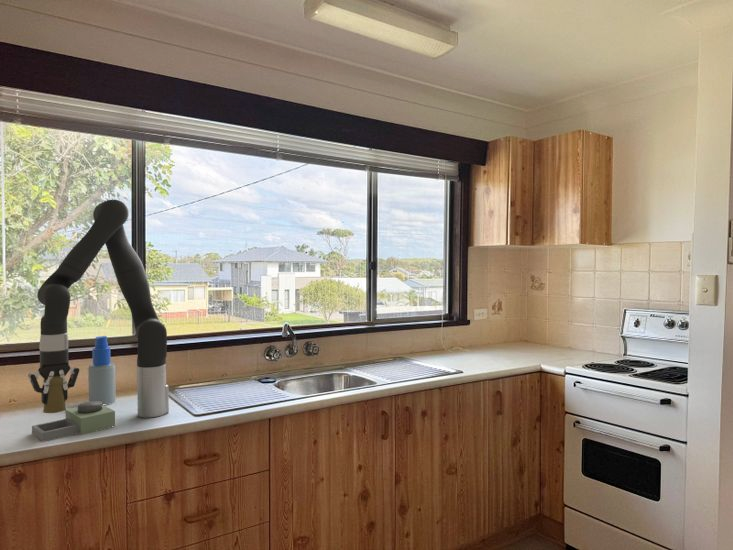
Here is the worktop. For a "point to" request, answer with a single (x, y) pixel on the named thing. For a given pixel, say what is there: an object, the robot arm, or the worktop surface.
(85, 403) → the stepped tray with pebble
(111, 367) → the spray bottle
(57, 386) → the olive brown upright piece
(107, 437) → the worktop surface
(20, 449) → the worktop surface
